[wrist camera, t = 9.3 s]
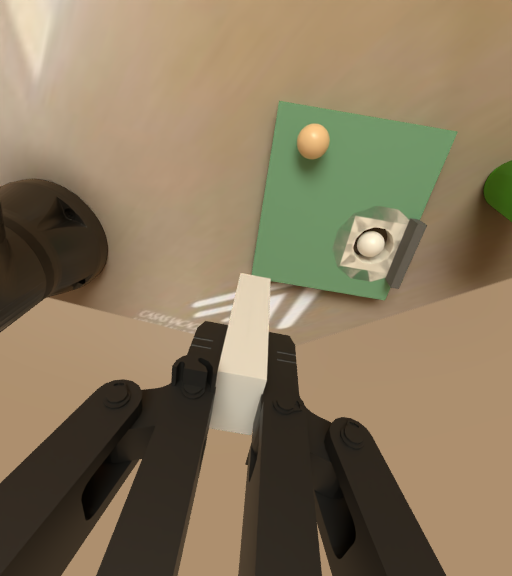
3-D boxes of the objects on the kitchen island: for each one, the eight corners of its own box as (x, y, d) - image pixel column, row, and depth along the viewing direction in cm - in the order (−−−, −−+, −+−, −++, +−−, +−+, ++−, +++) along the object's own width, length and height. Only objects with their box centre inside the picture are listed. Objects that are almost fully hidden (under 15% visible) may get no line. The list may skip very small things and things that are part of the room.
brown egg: (293, 155, 32) (294, 158, 29) (299, 120, 30) (301, 120, 27) (322, 160, 32) (326, 163, 29) (330, 126, 30) (336, 126, 27)
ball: (359, 260, 36) (383, 262, 36) (367, 235, 34) (393, 238, 35) (349, 249, 39) (372, 252, 39) (357, 226, 37) (381, 228, 37)
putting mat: (252, 269, 41) (249, 285, 37) (279, 102, 32) (278, 99, 27) (384, 291, 41) (395, 310, 37) (452, 132, 32) (477, 133, 28)
